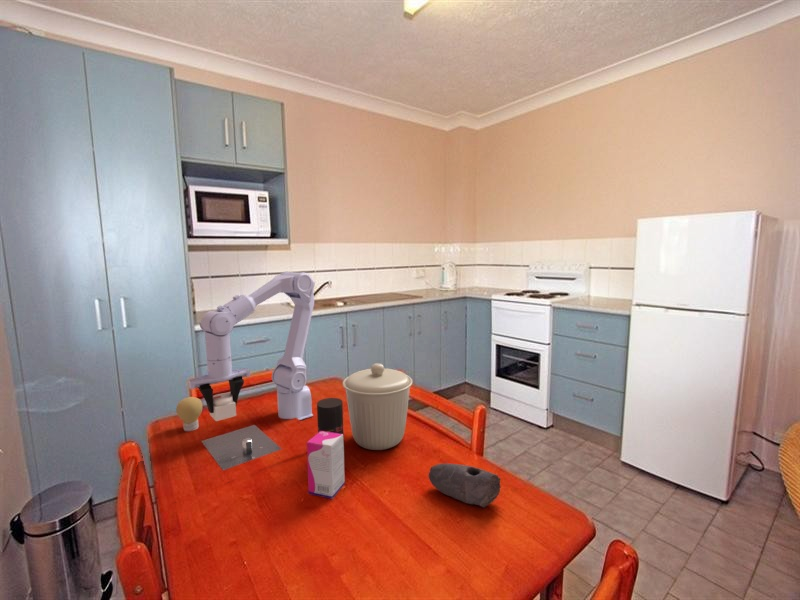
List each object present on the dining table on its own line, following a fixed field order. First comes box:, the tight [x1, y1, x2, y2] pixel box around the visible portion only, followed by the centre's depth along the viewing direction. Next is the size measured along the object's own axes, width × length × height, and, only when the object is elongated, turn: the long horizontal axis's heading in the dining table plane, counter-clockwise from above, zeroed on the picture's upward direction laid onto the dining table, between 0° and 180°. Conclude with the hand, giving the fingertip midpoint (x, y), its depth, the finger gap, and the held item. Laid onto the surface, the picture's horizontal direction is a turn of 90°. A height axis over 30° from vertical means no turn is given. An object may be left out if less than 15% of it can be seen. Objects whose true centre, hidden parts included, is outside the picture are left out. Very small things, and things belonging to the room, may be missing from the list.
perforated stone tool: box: [428, 463, 502, 508], centre depth 79 cm, size 15×5×7 cm, turn 57°
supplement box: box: [306, 431, 346, 500], centre depth 82 cm, size 6×6×12 cm
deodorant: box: [316, 397, 345, 445], centre depth 91 cm, size 6×6×15 cm
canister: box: [342, 362, 413, 451], centre depth 101 cm, size 18×18×21 cm
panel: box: [200, 424, 282, 471], centre depth 98 cm, size 14×18×4 cm
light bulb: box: [175, 396, 204, 432], centre depth 108 cm, size 6×6×10 cm
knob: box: [209, 392, 237, 422], centre depth 100 cm, size 5×5×5 cm
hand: (222, 408), depth 101 cm, fingers closed on knob, 5 cm apart
